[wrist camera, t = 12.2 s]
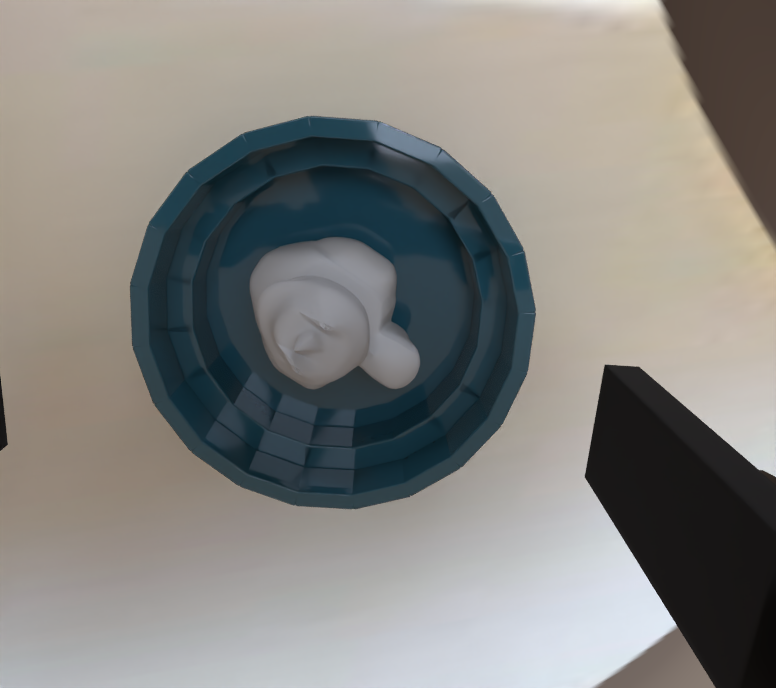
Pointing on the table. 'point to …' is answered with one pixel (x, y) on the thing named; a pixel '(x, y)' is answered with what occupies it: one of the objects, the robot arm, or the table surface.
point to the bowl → (412, 313)
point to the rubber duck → (331, 313)
